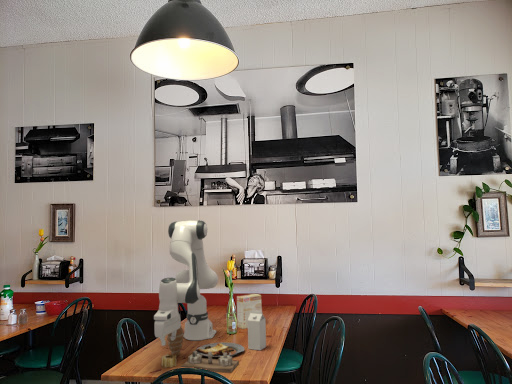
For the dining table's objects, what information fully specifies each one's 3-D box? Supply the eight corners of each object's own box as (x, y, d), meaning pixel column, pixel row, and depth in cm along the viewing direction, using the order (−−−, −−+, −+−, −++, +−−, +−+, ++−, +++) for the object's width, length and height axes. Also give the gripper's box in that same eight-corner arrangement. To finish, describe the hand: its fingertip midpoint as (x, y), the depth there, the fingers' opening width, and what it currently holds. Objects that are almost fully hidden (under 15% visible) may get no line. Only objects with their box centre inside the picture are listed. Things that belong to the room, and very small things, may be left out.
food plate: (218, 363, 201) (218, 355, 201) (186, 354, 216) (186, 347, 216) (252, 351, 220) (252, 344, 220) (221, 344, 235) (221, 338, 235)
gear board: (191, 360, 206) (191, 347, 206) (238, 363, 200) (238, 349, 200) (181, 369, 194) (180, 354, 195) (230, 372, 188) (230, 357, 189)
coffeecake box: (256, 323, 279) (256, 293, 280) (262, 325, 273) (261, 294, 274) (236, 326, 271) (236, 295, 272) (242, 329, 265) (241, 297, 266)
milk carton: (254, 345, 229) (253, 309, 230) (266, 347, 226) (265, 310, 227) (248, 349, 223) (247, 312, 224) (260, 350, 219) (259, 313, 221)
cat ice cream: (177, 352, 219) (176, 317, 221) (187, 355, 214) (187, 319, 216) (163, 357, 213) (163, 320, 214) (173, 360, 208) (173, 322, 209)
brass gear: (166, 362, 204) (165, 354, 205) (178, 363, 203) (178, 354, 203) (159, 367, 198) (159, 358, 198) (172, 368, 196) (172, 359, 196)
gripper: (172, 308, 213) (172, 336, 211) (151, 316, 193) (151, 348, 192) (183, 309, 211) (184, 337, 210) (164, 317, 191) (164, 348, 190)
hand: (168, 342), depth 201 cm, fingers open, 8 cm apart
